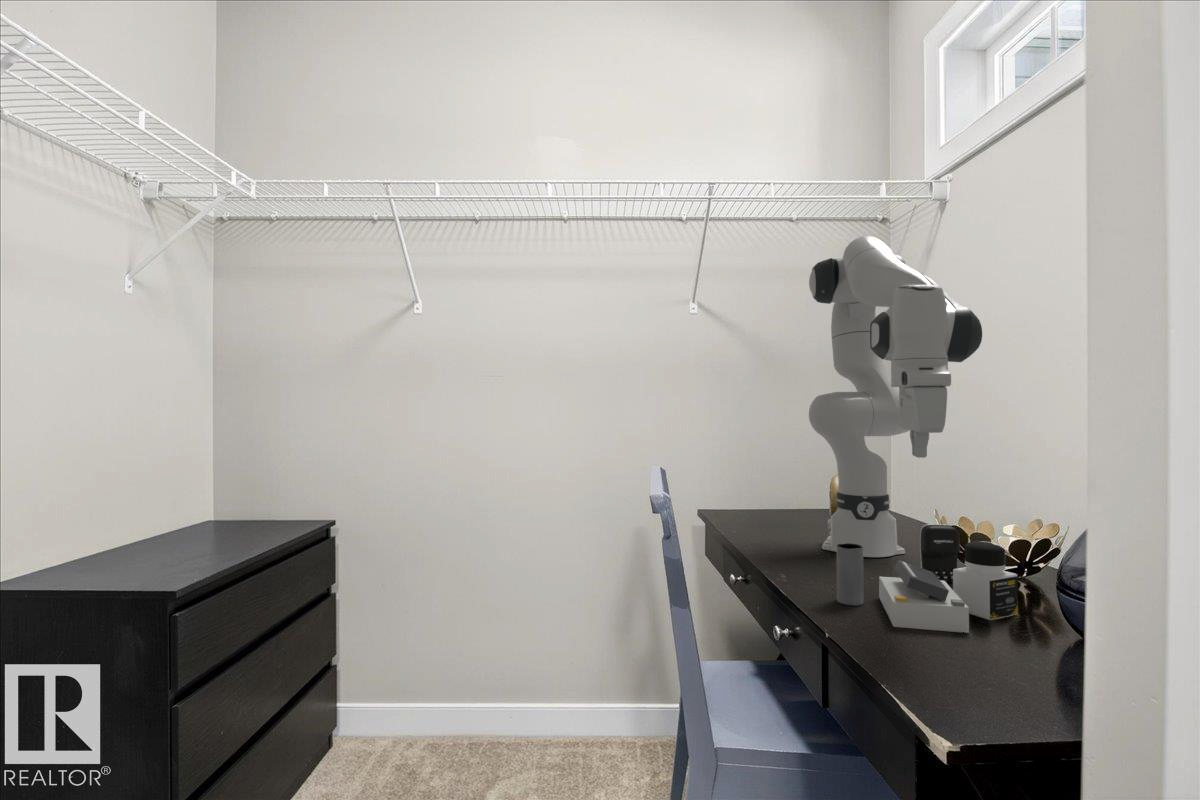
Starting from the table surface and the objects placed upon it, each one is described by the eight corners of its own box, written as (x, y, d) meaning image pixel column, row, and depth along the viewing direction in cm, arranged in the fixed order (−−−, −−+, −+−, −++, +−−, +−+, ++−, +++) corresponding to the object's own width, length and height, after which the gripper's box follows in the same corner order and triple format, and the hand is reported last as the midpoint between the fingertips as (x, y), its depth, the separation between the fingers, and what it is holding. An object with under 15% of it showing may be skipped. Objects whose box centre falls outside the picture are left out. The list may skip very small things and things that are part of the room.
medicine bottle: (990, 621, 108) (990, 549, 108) (952, 608, 114) (951, 541, 114) (1018, 615, 111) (1018, 545, 111) (979, 603, 117) (979, 537, 117)
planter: (865, 606, 116) (865, 549, 116) (839, 605, 117) (838, 548, 117) (860, 599, 120) (860, 543, 120) (835, 597, 121) (834, 542, 121)
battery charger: (925, 583, 130) (924, 526, 130) (918, 578, 134) (918, 523, 134) (962, 584, 129) (962, 527, 129) (955, 579, 133) (954, 524, 133)
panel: (879, 597, 121) (879, 572, 121) (944, 602, 118) (944, 576, 118) (893, 626, 105) (893, 597, 105) (968, 632, 102) (968, 602, 102)
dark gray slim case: (894, 568, 118) (898, 558, 118) (929, 581, 117) (932, 571, 117) (906, 587, 107) (910, 576, 107) (945, 601, 105) (949, 589, 105)
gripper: (889, 379, 123) (889, 451, 123) (910, 375, 103) (910, 461, 103) (926, 378, 121) (926, 452, 121) (954, 374, 101) (954, 462, 101)
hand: (919, 456), depth 112 cm, fingers closed
